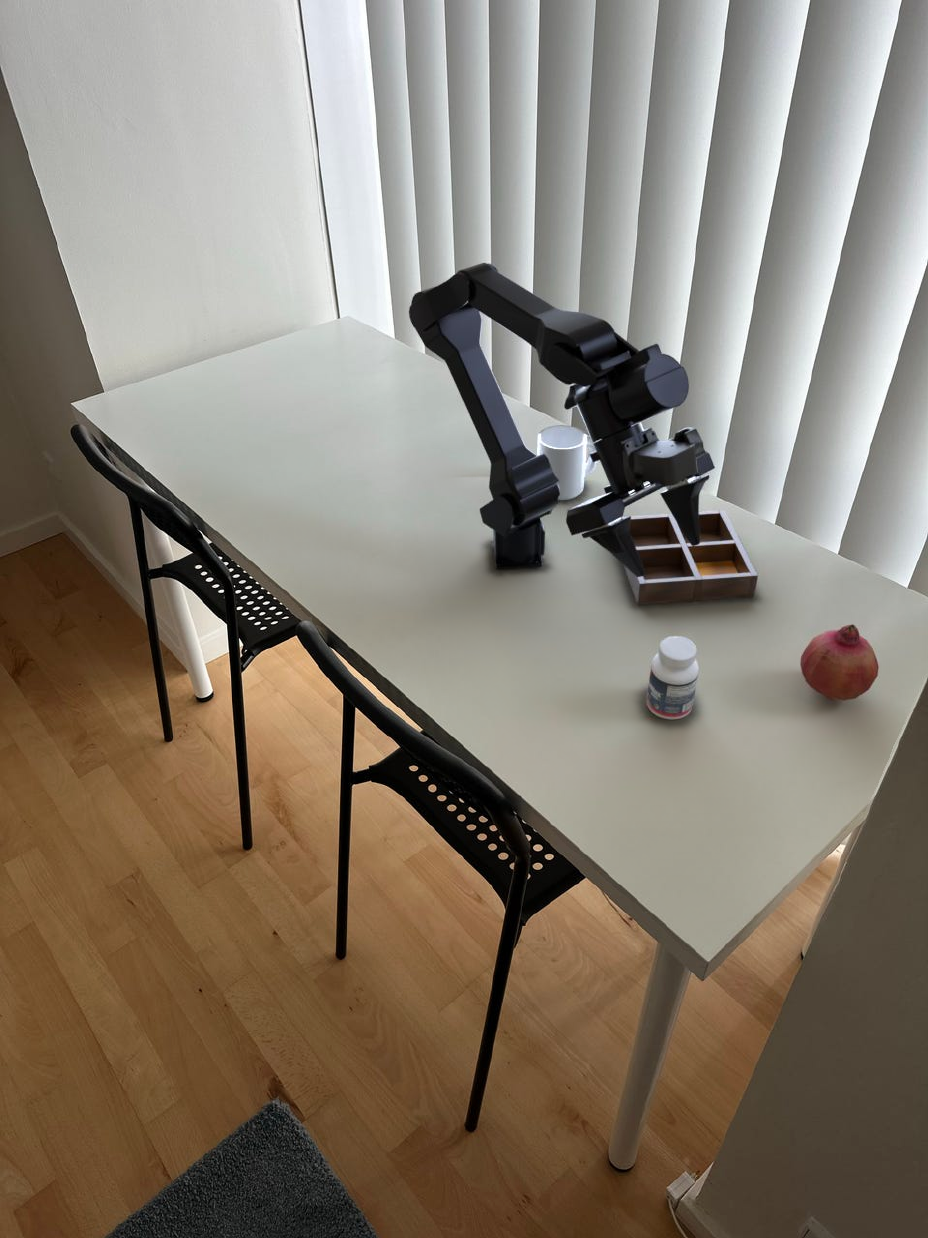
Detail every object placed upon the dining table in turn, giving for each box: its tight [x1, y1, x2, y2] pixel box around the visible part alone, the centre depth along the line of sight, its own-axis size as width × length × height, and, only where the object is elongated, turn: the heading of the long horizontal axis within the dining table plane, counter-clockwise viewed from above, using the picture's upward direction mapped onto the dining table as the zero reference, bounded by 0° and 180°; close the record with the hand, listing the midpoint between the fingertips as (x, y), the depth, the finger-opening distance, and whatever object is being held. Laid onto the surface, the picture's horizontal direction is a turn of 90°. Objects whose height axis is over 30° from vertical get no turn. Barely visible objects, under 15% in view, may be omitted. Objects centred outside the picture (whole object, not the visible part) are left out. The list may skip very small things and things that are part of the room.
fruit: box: [799, 623, 879, 701], centre depth 107 cm, size 8×8×10 cm
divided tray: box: [622, 509, 759, 606], centre depth 128 cm, size 15×15×4 cm
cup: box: [536, 424, 599, 501], centre depth 143 cm, size 7×10×9 cm
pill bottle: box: [646, 635, 700, 721], centre depth 106 cm, size 5×5×9 cm
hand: (669, 560), depth 108 cm, fingers open, 9 cm apart
